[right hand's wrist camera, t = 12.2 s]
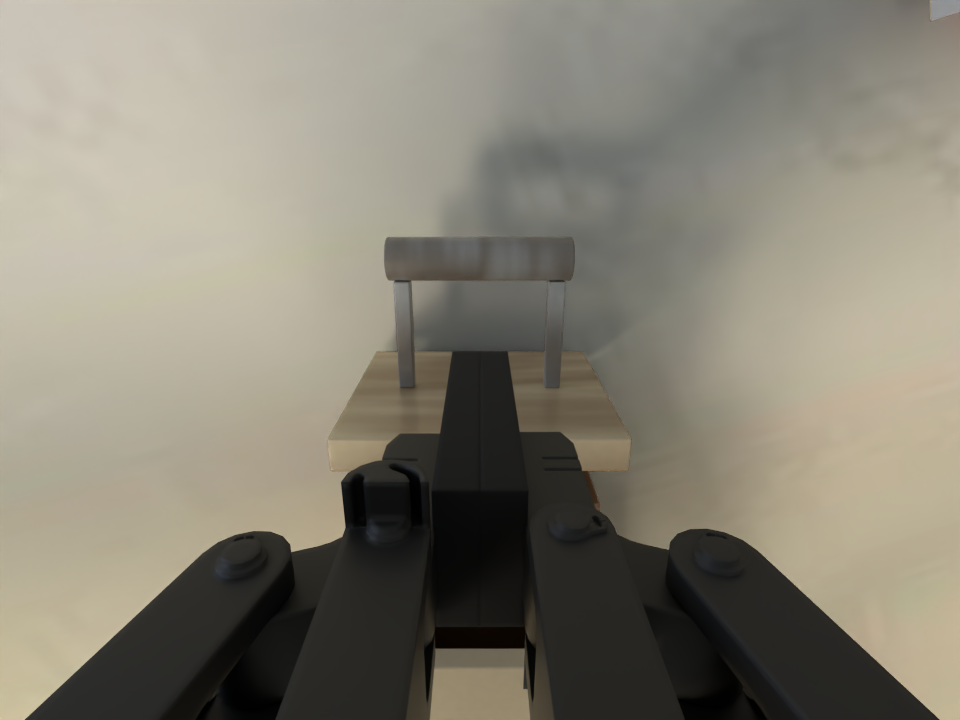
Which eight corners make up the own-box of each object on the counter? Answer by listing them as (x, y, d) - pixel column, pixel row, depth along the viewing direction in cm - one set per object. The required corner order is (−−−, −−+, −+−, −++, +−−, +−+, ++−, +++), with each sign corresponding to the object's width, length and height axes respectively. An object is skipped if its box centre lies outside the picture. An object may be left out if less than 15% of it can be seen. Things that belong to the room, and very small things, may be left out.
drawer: (367, 225, 23) (305, 256, 15) (591, 225, 23) (652, 256, 15) (397, 650, 32) (368, 820, 23) (562, 650, 32) (591, 819, 23)
